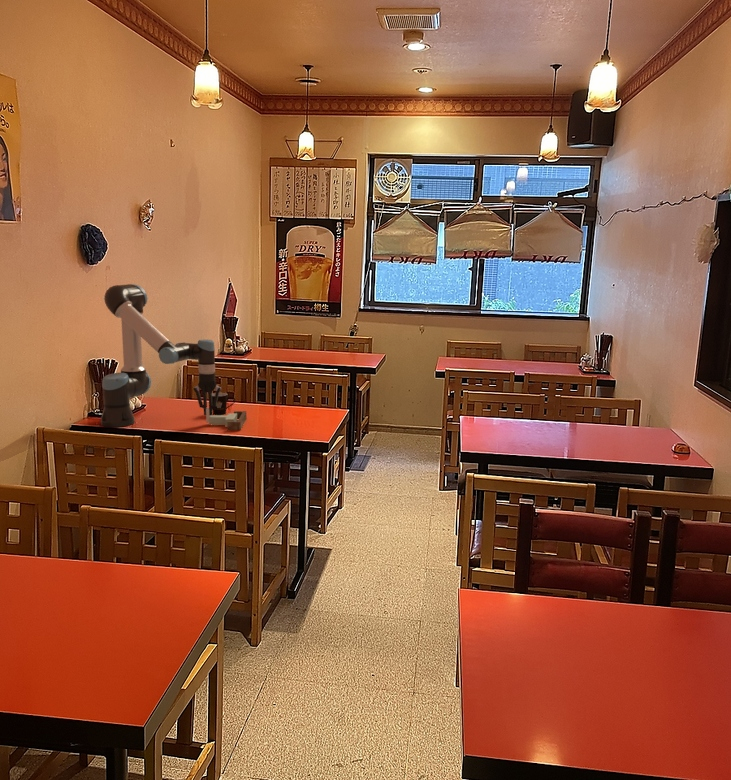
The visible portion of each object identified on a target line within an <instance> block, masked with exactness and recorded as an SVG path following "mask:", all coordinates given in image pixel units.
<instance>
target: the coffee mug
mask: <svg viewBox="0 0 731 780" xmlns="http://www.w3.org/2000/svg"><path fill="white" fill-rule="evenodd" d="M215 394H216V392H214V393H213V392H212V405H213V403H214V399H215ZM229 399H233V402H232V403H231V404H230V405H228V400H229ZM235 402H236V398H235V397H234V396H228V392H227V393H226V392H219V395H218V400H217V404H216V407H214V408H212V415H213V414H215V415H224V414H225V415H227V410H228V408H230V407H232V406H233V405H235Z"/></svg>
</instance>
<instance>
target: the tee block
mask: <svg viewBox="0 0 731 780" xmlns="http://www.w3.org/2000/svg"><path fill="white" fill-rule="evenodd" d="M228 421H238V420H237V413H234V412H233V413H230V412H229V413H227V414H225V415H213V414H212V415H210V417H209V425H211V424H212V425H225V426H224V427H228V426H227V422H228ZM209 425H208V426H209Z"/></svg>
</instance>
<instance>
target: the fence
mask: <svg viewBox="0 0 731 780" xmlns="http://www.w3.org/2000/svg"><path fill="white" fill-rule="evenodd" d="M233 413H237V419H239V420H237V421H228V422H227V426H228V428H227V431H228V430H241V431H242V429H243V427H244V425H245V423H246V421H247V419H248V418H247V410H233ZM243 424H244V425H243ZM242 426H243V427H242ZM241 428H242V429H241Z"/></svg>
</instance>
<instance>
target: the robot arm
mask: <svg viewBox="0 0 731 780" xmlns="http://www.w3.org/2000/svg"><path fill="white" fill-rule="evenodd" d="M103 299H104V304H105V306H106V308H107V310H109V312H110V313H111V314H112V315H114V316H115V318H120V321H121V339H122V340H121V341H122V355H123V356H122V357H123V366H122V367H121V369H120V372H114V373H109V374H107V375H105V376H103V378H102V384H101V387H102V400H103V410H102V414H101V418H100V425H101V426H102V427H105V428H106V427H107V428H120V427H121V428H122V427H128V426H131V425H134V424H135V420H136V419H135V416H134V414H133V411H132V409H131V403H130V402H131V401H130V399H132V398H135V397H140V396H142V395H144V394H146V393H147V392H149V390H150V388H151V385H152V379H151V376H150V375H149V373H148V372H147V369H146V367H145V366H144V365H143V354H142V353H143V350H142V349H143V348H142V339H143V340H144V341H145V342H146V343H147V344H148V345H149V346H150V347H152V349H154V350H155V352H157V354H158V358H159V360H160V362H162V363H163V364H165V365H171V364H175V363H178V362H182V361H187V360H196V361H197V360H198V364H197V365H198V372H199V373H198V384H197V385H196V386H194V387H193V391H194V392H195V394H196V398H197V403H198V406H199V408H202V409H203V415H204V416H205V417H206V418H205V420H206V421H205V423H209V417H210V416H211V415H213V410H212V408H214V407H216V404H217V400H218V395H219V393H220V392H221V390H222V387H221V386H219V385H217V382H216V363H215V359H216V358H215V356H216V354H215V351H216V349H215V348H216V347H215V342H214V340H213V339H209V338H208V339H205V338H204V339H199V340H198V341H197V343H192V342H191V343H190V342H177V343H176V344H174V343H172V341H171V340H169V339H168V338H167V337H166V336H165V335H164V334H162V332H161V331H160V330H158V328H156V327H155V326H154V325H153V324H152V322H150V321H149V320H148V319H147V318H146V317H145V316H144V315H143V314H144V307H146V305H147V302H148V294H147V293H146V291H145V289H144V288H143V287H142V286H141V285H138V284H132V283H130V284H128V283H127V284H120V285H118V284H116V285H111V286H110V287H109V288H108V289H106V291H105V293H104V298H103ZM214 390H215V393H216V394H215V399H214V403H213V405H212V394H213V392H214ZM200 391H201V392H202V396H201V393H200ZM207 393H208V394H207ZM207 396H208V398H207ZM202 397H203V398H202ZM207 399H208V400H207Z"/></svg>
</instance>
